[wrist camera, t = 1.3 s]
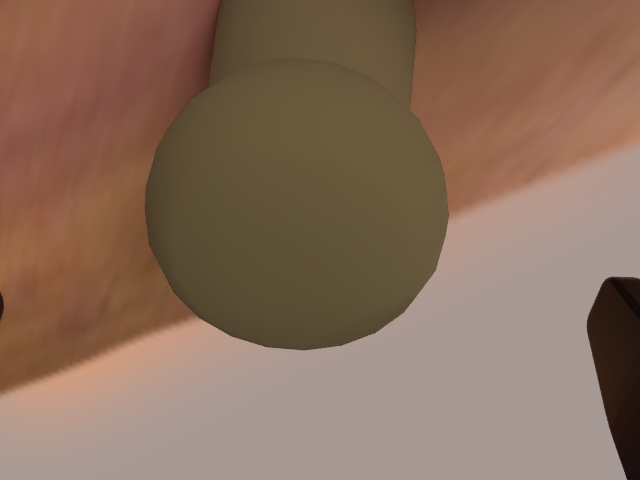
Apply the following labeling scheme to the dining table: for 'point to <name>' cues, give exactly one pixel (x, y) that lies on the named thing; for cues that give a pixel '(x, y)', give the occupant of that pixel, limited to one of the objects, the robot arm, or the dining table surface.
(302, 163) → the olive-brown bulbous cylinder
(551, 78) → the dining table surface
